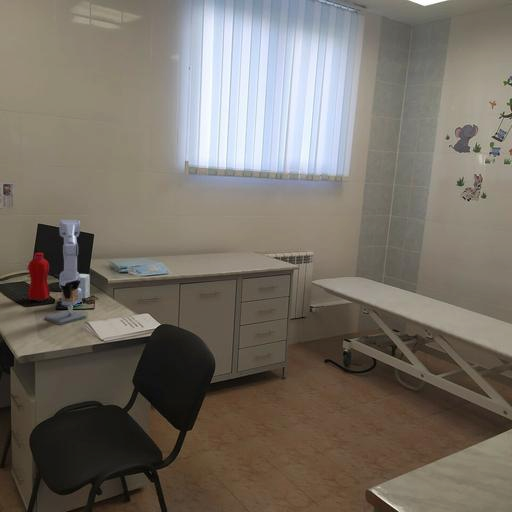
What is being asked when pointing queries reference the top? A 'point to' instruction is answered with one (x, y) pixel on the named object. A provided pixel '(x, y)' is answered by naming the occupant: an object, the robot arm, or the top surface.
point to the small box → (85, 285)
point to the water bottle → (38, 277)
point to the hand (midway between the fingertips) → (70, 296)
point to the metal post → (70, 310)
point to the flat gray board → (64, 317)
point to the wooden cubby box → (72, 296)
